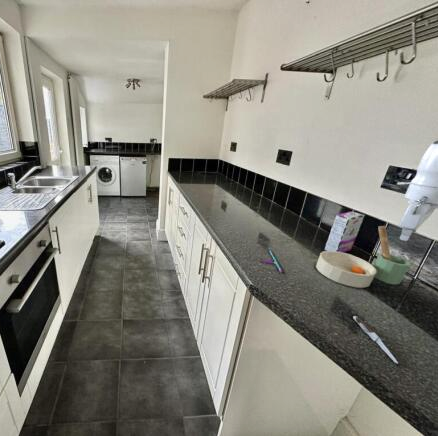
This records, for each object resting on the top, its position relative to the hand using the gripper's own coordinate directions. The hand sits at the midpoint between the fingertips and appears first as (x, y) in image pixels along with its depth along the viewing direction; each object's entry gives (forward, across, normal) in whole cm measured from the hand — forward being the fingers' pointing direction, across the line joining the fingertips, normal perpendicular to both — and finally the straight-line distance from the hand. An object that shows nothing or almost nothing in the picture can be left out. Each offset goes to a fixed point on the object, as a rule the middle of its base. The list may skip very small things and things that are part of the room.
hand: (407, 236), depth 74 cm
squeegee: (+15, -26, +28) cm, 41 cm away
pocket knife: (+17, -37, -5) cm, 41 cm away
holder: (+17, 0, 0) cm, 17 cm away
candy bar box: (+17, +9, +17) cm, 26 cm away
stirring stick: (+16, 0, -1) cm, 16 cm away
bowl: (+16, -11, +10) cm, 22 cm away
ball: (+14, -8, +6) cm, 18 cm away
